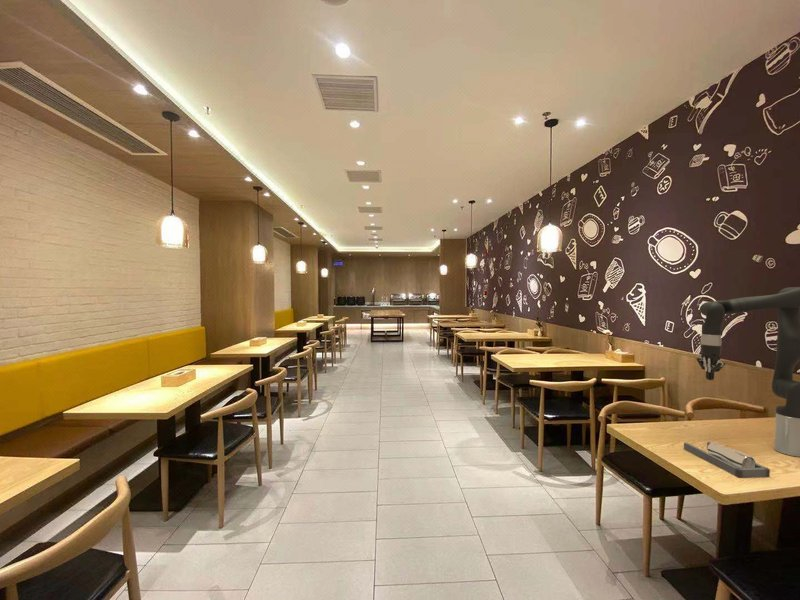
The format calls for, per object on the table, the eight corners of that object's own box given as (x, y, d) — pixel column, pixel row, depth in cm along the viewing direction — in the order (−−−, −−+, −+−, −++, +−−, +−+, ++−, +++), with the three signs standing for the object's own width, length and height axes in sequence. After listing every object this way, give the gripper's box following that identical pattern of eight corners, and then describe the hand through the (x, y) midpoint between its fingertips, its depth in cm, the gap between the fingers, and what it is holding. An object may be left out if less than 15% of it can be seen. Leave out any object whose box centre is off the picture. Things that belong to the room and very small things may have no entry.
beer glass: (705, 455, 161) (740, 472, 146) (707, 440, 161) (742, 455, 146) (719, 457, 162) (755, 473, 147) (721, 441, 162) (757, 456, 147)
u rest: (709, 448, 169) (710, 441, 169) (769, 476, 143) (769, 469, 143) (683, 448, 168) (683, 442, 168) (739, 477, 142) (739, 470, 142)
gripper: (731, 345, 167) (730, 383, 167) (705, 341, 180) (704, 376, 180) (716, 346, 166) (715, 383, 167) (691, 341, 179) (690, 376, 180)
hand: (709, 379), depth 174 cm, fingers closed
